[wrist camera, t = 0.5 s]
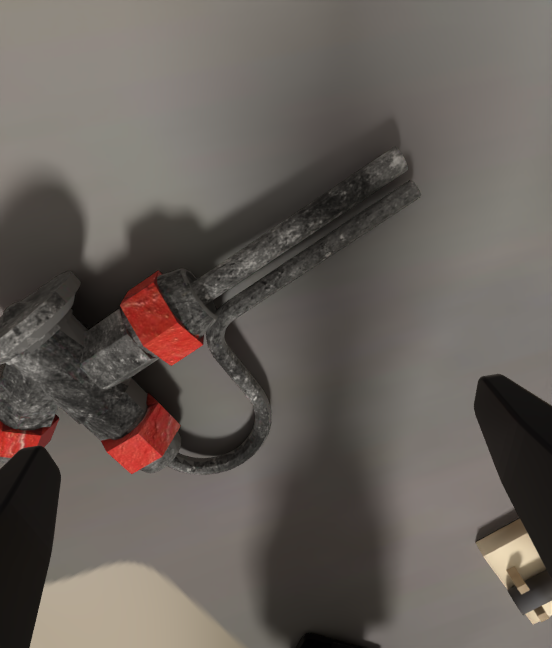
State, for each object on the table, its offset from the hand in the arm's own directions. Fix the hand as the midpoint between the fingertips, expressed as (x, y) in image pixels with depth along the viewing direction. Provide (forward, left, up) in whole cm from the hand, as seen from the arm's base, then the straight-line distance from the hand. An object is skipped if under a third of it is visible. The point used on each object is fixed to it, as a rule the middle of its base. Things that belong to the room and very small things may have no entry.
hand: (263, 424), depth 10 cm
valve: (-5, 0, -17) cm, 18 cm away
